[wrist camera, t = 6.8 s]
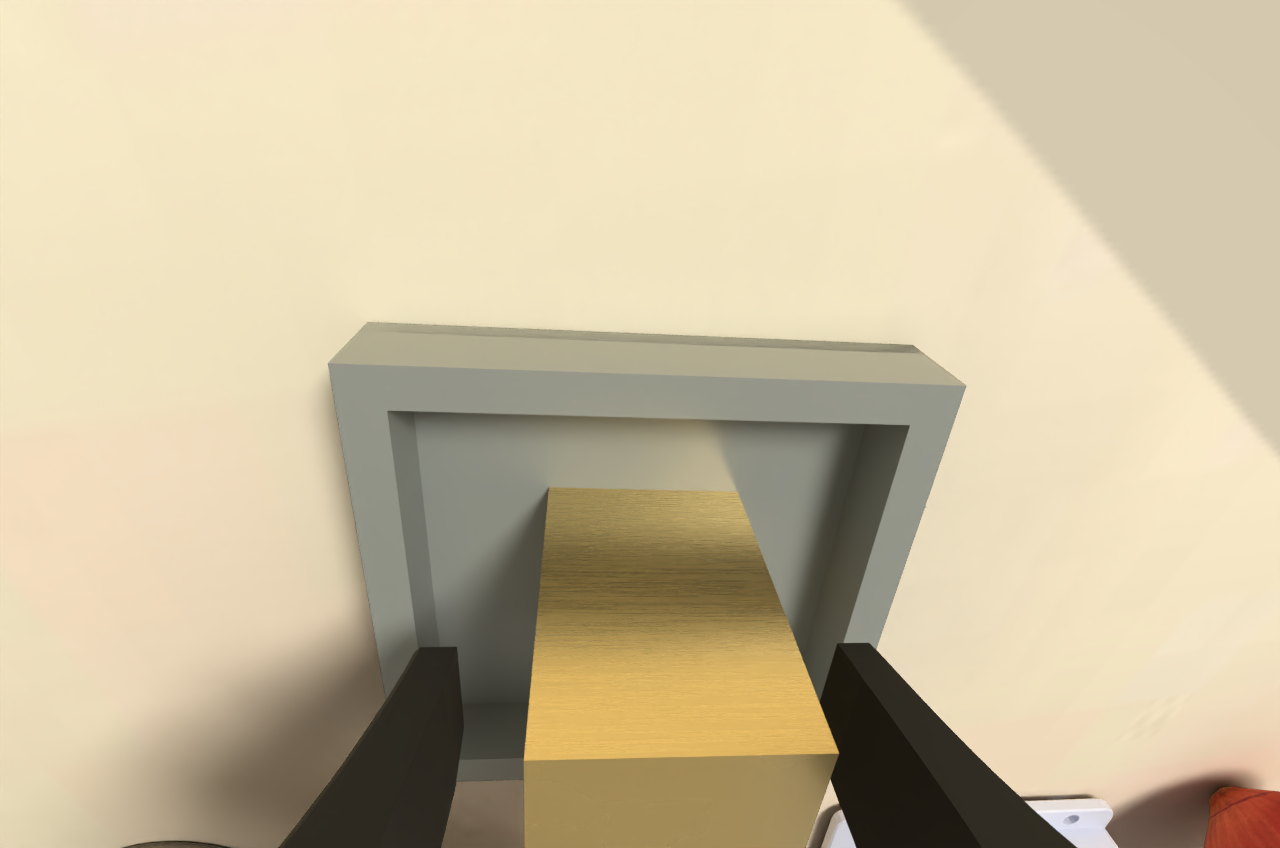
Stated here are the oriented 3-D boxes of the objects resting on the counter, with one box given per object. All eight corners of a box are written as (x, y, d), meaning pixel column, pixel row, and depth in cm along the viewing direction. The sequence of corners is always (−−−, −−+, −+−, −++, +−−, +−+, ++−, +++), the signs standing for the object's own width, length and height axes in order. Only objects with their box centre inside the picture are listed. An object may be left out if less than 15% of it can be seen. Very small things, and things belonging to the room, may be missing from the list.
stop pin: (737, 491, 13) (839, 754, 8) (712, 629, 15) (781, 916, 10) (548, 487, 13) (524, 760, 8) (546, 629, 15) (525, 928, 9)
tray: (912, 344, 13) (966, 385, 11) (809, 701, 17) (835, 769, 16) (367, 322, 11) (327, 363, 10) (420, 709, 16) (400, 783, 15)
